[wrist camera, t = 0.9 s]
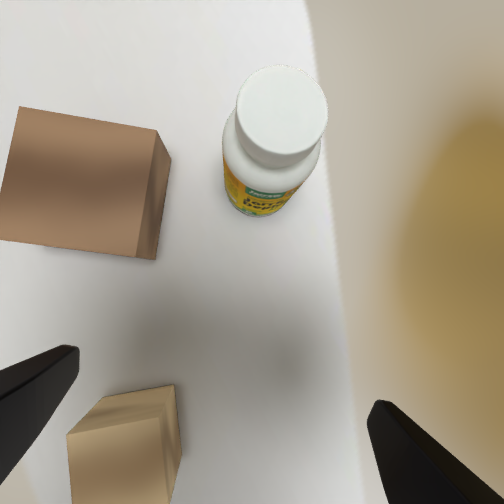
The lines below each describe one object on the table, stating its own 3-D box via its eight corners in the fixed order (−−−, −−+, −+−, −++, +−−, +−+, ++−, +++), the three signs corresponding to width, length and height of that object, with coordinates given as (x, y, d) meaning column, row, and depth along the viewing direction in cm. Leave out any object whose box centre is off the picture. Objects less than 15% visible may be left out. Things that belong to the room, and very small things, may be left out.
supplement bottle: (279, 147, 20) (325, 37, 11) (297, 208, 20) (361, 153, 10) (216, 161, 20) (205, 60, 10) (234, 225, 19) (240, 183, 10)
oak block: (181, 454, 18) (168, 508, 14) (109, 470, 17) (74, 530, 13) (173, 384, 18) (158, 417, 14) (102, 397, 18) (66, 435, 14)
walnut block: (154, 259, 19) (135, 257, 15) (43, 245, 18) (-10, 238, 14) (171, 159, 19) (156, 130, 15) (63, 141, 18) (19, 106, 15)
